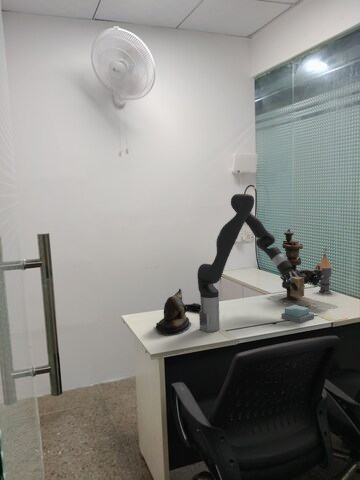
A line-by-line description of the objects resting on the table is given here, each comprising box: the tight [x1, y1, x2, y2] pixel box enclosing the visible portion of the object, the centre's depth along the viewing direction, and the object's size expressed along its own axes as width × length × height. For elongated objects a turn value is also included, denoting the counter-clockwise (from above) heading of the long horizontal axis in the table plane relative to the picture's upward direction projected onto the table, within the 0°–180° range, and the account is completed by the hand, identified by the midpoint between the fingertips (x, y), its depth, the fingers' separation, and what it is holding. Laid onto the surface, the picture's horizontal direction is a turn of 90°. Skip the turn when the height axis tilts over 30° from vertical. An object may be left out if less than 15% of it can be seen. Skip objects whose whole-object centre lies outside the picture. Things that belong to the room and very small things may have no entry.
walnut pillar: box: [290, 276, 305, 298], centre depth 204 cm, size 5×5×10 cm
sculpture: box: [155, 288, 192, 337], centre depth 196 cm, size 23×18×20 cm
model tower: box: [314, 248, 334, 295], centre depth 253 cm, size 10×11×30 cm
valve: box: [264, 228, 340, 314], centre depth 233 cm, size 42×20×45 cm, turn 33°
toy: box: [184, 302, 201, 312], centre depth 227 cm, size 8×6×30 cm
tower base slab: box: [280, 312, 315, 324], centre depth 206 cm, size 12×12×3 cm
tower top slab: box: [284, 305, 310, 317], centre depth 206 cm, size 9×9×3 cm
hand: (300, 288), depth 203 cm, fingers closed on walnut pillar, 5 cm apart
